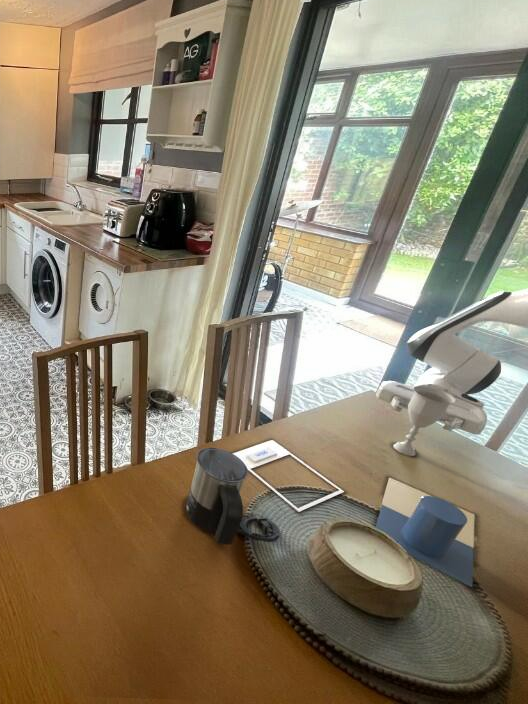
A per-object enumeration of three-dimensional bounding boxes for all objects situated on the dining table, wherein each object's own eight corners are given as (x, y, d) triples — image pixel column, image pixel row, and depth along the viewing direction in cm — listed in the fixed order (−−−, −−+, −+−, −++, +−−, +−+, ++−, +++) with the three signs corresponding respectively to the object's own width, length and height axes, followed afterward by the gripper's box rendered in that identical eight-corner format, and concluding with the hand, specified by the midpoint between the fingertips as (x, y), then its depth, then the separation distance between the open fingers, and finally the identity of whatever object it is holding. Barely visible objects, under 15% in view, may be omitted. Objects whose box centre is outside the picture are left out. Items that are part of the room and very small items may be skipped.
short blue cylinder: (424, 527, 83) (444, 496, 79) (454, 557, 77) (477, 525, 73) (392, 527, 83) (411, 495, 79) (420, 557, 77) (441, 524, 74)
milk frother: (174, 502, 90) (187, 450, 83) (237, 490, 93) (254, 439, 86) (216, 563, 77) (234, 507, 71) (287, 547, 80) (311, 493, 74)
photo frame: (272, 439, 106) (344, 490, 91) (271, 442, 107) (342, 494, 92) (230, 453, 101) (299, 511, 86) (229, 457, 102) (297, 514, 87)
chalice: (416, 448, 105) (447, 390, 98) (426, 466, 100) (461, 406, 92) (380, 440, 108) (408, 383, 100) (389, 456, 102) (419, 397, 95)
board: (387, 480, 96) (389, 477, 95) (472, 517, 86) (474, 514, 86) (371, 539, 82) (373, 536, 81) (470, 591, 73) (472, 587, 72)
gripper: (388, 370, 115) (374, 388, 107) (493, 405, 100) (486, 428, 93) (379, 389, 117) (365, 407, 110) (481, 426, 103) (473, 450, 95)
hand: (422, 417), depth 101 cm, fingers open, 8 cm apart
